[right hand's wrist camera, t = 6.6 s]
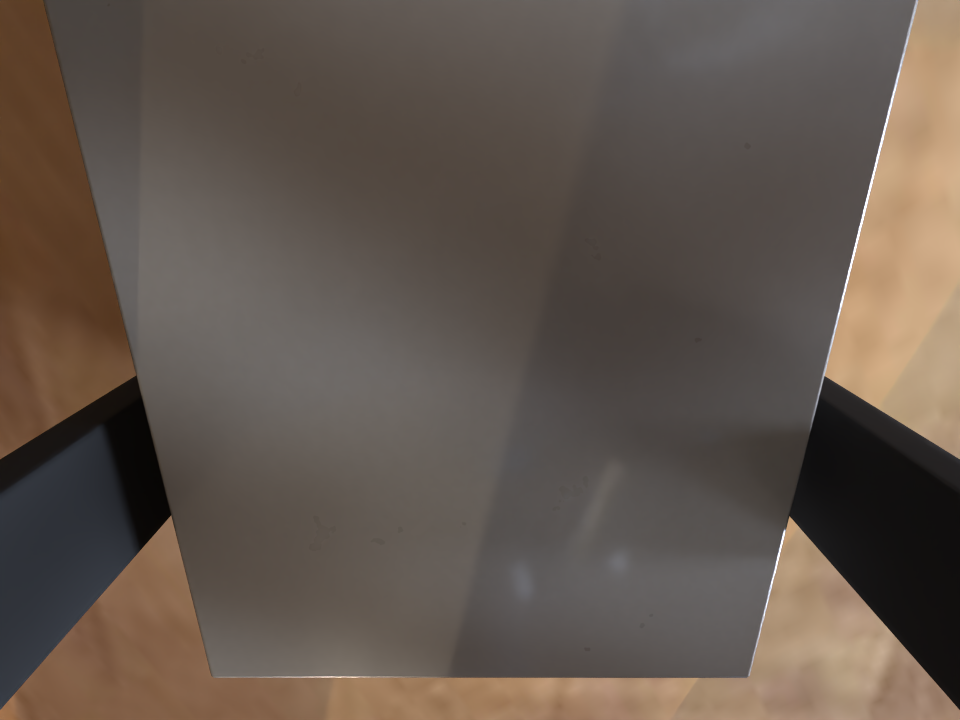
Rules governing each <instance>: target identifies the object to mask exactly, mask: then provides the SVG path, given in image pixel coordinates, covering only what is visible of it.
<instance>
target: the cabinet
mask: <svg viewBox="0 0 960 720" xmlns="http://www.w3.org/2000/svg"><path fill="white" fill-rule="evenodd" d="M43 2H44V6H45V10H46V14H47V18H48V22H49V26H50V30H51V34H52V38H53V42H54V46H55V50H56V54H57V58H58V62H59V66H60V70H61V74H62V78H63V82H64V86H65V90H66V94H67V98H68V102H69V106H70V110H71V114H72V118H73V122H74V126H75V130H76V134H77V138H78V142H79V146H80V150H81V154H82V158H83V162H84V166H85V170H86V174H87V178H88V182H89V186H90V190H91V194H92V199H93V203H94V207H95V211H96V215H97V219H98V223H99V227H100V231H101V235H102V239H103V243H104V247H105V251H106V255H107V259H108V263H109V267H110V271H111V275H112V279H113V283H114V287H115V291H116V295H117V299H118V303H119V307H120V311H121V315H122V319H123V323H124V327H125V331H126V335H127V339H128V343H129V347H130V351H131V355H132V359H133V363H134V367H135V371H136V375H137V379H138V383H139V387H140V391H141V395H142V399H143V403H144V407H145V411H146V415H147V419H148V423H149V427H150V431H151V435H152V439H153V443H154V447H155V451H156V455H157V459H158V463H159V467H160V471H161V475H162V479H163V483H164V487H165V491H166V496H167V500H168V504H169V508H170V512H171V516H172V520H173V524H174V528H175V532H176V536H177V540H178V544H179V548H180V552H181V556H182V560H183V564H184V568H185V572H186V576H187V580H188V584H189V588H190V592H191V596H192V600H193V604H194V608H195V612H196V616H197V620H198V624H199V628H200V632H201V636H202V640H203V644H204V648H205V652H206V656H207V660H208V664H209V668H210V672H211V676H212V677H214V678H747V677H749V675H750V671H751V667H752V663H753V659H754V655H755V651H756V647H757V643H758V639H759V635H760V631H761V627H762V623H763V619H764V615H765V611H766V607H767V603H768V599H769V595H770V591H771V587H772V583H773V579H774V575H775V571H776V567H777V563H778V559H779V555H780V551H781V547H782V543H783V539H784V535H785V531H786V527H787V523H788V519H789V515H790V511H791V507H792V503H793V499H794V495H795V491H796V487H797V483H798V479H799V475H800V471H801V467H802V463H803V459H804V455H805V451H806V447H807V443H808V439H809V435H810V431H811V427H812V423H813V419H814V415H815V411H816V407H817V403H818V399H819V395H820V391H821V387H822V383H823V379H824V375H825V371H826V367H827V363H828V359H829V355H830V351H831V347H832V343H833V339H834V335H835V331H836V327H837V323H838V319H839V315H840V311H841V307H842V303H843V299H844V295H845V291H846V287H847V283H848V279H849V275H850V271H851V267H852V263H853V259H854V255H855V251H856V247H857V243H858V239H859V235H860V231H861V227H862V223H863V219H864V215H865V211H866V207H867V203H868V199H869V195H870V191H871V187H872V183H873V179H874V175H875V171H876V167H877V163H878V159H879V155H880V151H881V147H882V143H883V139H884V135H885V131H886V127H887V123H888V119H889V115H890V111H891V107H892V103H893V99H894V95H895V91H896V87H897V83H898V79H899V75H900V71H901V67H902V63H903V59H904V55H905V51H906V47H907V43H908V39H909V35H910V31H911V27H912V23H913V19H914V15H915V11H916V7H917V3H918V0H43Z"/></svg>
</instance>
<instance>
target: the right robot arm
mask: <svg viewBox="0 0 960 720" xmlns="http://www.w3.org/2000/svg"><path fill="white" fill-rule="evenodd" d="M170 516H171V512H170V508H169V504H168V500H167V496H166V491H165V487H164V483H163V479H162V475H161V471H160V467H159V463H158V459H157V455H156V451H155V447H154V443H153V439H152V435H151V431H150V427H149V423H148V419H147V415H146V411H145V407H144V403H143V399H142V395H141V391H140V387H139V383H138V379H137V375H136V376H135V377H133V378H131V379H130V380H128V381H127V382H125V383H123V384H122V385H120V386H119V387H117V388H115V389H114V390H112V391H110V392H109V393H107V394H106V395H104V396H102V397H101V398H99V399H97V400H96V401H94V402H93V403H91V404H89V405H88V406H86V407H85V408H83V409H81V410H80V411H78V412H76V413H75V414H73V415H72V416H70V417H68V418H67V419H65V420H63V421H62V422H60V423H59V424H57V425H55V426H54V427H52V428H50V429H49V430H47V431H46V432H44V433H42V434H41V435H39V436H38V437H36V438H34V439H33V440H31V441H29V442H28V443H26V444H25V445H23V446H21V447H20V448H18V449H16V450H15V451H13V452H12V453H10V454H8V455H7V456H5V457H4V458H2V459H0V709H1V708H2V707H3V706H4V705H5V704H6V703H7V701H8V700H9V699H10V698H11V697H12V696H13V695H14V694H15V692H16V691H17V690H18V689H19V688H20V687H21V686H22V684H23V683H24V682H25V681H26V680H27V679H28V678H29V676H30V675H31V674H32V673H33V672H34V671H35V670H36V668H37V667H38V666H39V665H40V664H41V663H42V662H43V660H44V659H45V658H46V657H47V656H48V655H49V654H50V653H51V651H52V650H53V649H54V648H55V647H56V646H57V645H58V643H59V642H60V641H61V640H62V639H63V638H64V637H65V635H66V634H67V633H68V632H69V631H70V630H71V629H72V627H73V626H74V625H75V624H76V623H77V622H78V621H79V619H80V618H81V617H82V616H83V615H84V614H85V613H86V612H87V610H88V609H89V608H90V607H91V606H92V605H93V604H94V602H95V601H96V600H97V599H98V598H99V597H100V596H101V594H102V593H103V592H104V591H105V590H106V589H107V588H108V586H109V585H110V584H111V583H112V582H113V581H114V580H115V578H116V577H117V576H118V575H119V574H120V573H121V572H122V571H123V569H124V568H125V567H126V566H127V565H128V564H129V563H130V561H131V560H132V559H133V558H134V557H135V556H136V555H137V553H138V552H139V551H140V550H141V549H142V548H143V547H144V545H145V544H146V543H147V542H148V541H149V540H150V539H151V537H152V536H153V535H154V534H155V533H156V532H157V531H158V530H159V528H160V527H161V526H162V525H163V524H164V523H165V522H166V520H167V519H168V518H169V517H170ZM789 516H790V517H791V518H792V519H793V520H794V522H795V523H796V524H797V525H798V526H799V527H800V528H801V530H802V531H803V532H804V533H805V534H806V535H807V536H808V537H809V539H810V540H811V541H812V542H813V543H814V544H815V545H816V547H817V548H818V549H819V550H820V551H821V552H822V553H823V555H824V556H825V557H826V558H827V559H828V560H829V561H830V563H831V564H832V565H833V566H834V567H835V568H836V569H837V571H838V572H839V573H840V574H841V575H842V576H843V577H844V578H845V580H846V581H847V582H848V583H849V584H850V585H851V586H852V588H853V589H854V590H855V591H856V592H857V593H858V594H859V596H860V597H861V598H862V599H863V600H864V601H865V602H866V604H867V605H868V606H869V607H870V608H871V609H872V610H873V612H874V613H875V614H876V615H877V616H878V617H879V618H880V619H881V621H882V622H883V623H884V624H885V625H886V626H887V627H888V629H889V630H890V631H891V632H892V633H893V634H894V635H895V637H896V638H897V639H898V640H899V641H900V642H901V643H902V645H903V646H904V647H905V648H906V649H907V650H908V651H909V653H910V654H911V655H912V656H913V657H914V658H915V659H916V660H917V662H918V663H919V664H920V665H921V666H922V667H923V668H924V670H925V671H926V672H927V673H928V674H929V675H930V676H931V678H932V679H933V680H934V681H935V682H936V683H937V684H938V686H939V687H940V688H941V689H942V690H943V691H944V692H945V694H946V695H947V696H948V697H949V698H950V699H951V700H952V701H953V703H954V704H955V705H956V706H957V707H958V708H959V709H960V459H958V458H956V457H955V456H953V455H952V454H950V453H948V452H947V451H945V450H944V449H942V448H940V447H939V446H937V445H935V444H934V443H932V442H931V441H929V440H927V439H926V438H924V437H922V436H921V435H919V434H918V433H916V432H914V431H913V430H911V429H910V428H908V427H906V426H905V425H903V424H901V423H900V422H898V421H897V420H895V419H893V418H892V417H890V416H888V415H887V414H885V413H884V412H882V411H880V410H879V409H877V408H875V407H874V406H872V405H871V404H869V403H867V402H866V401H864V400H863V399H861V398H859V397H858V396H856V395H854V394H853V393H851V392H850V391H848V390H846V389H845V388H843V387H841V386H840V385H838V384H837V383H835V382H833V381H832V380H830V379H829V378H827V377H825V376H824V379H823V383H822V387H821V391H820V395H819V399H818V403H817V407H816V411H815V415H814V419H813V423H812V427H811V431H810V435H809V439H808V443H807V447H806V451H805V455H804V459H803V463H802V467H801V471H800V475H799V479H798V483H797V487H796V491H795V495H794V499H793V503H792V507H791V511H790V515H789Z"/></svg>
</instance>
